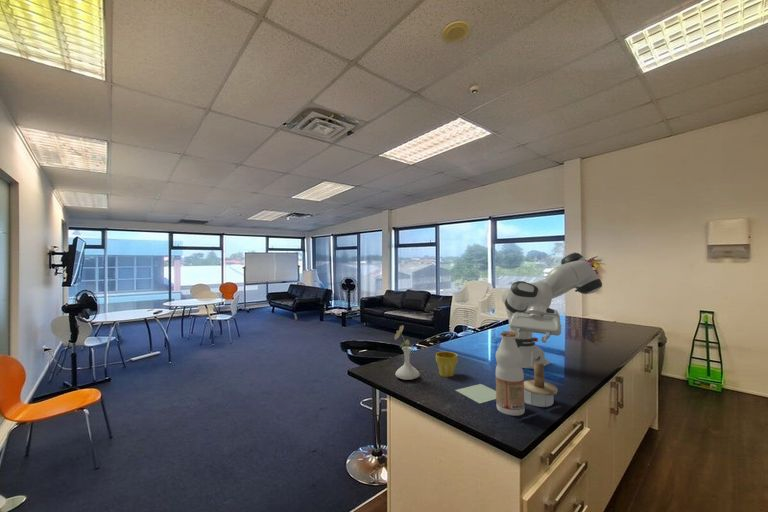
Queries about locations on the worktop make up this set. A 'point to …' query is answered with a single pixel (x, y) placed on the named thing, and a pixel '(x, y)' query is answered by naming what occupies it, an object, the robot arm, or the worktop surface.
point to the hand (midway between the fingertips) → (531, 340)
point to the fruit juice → (509, 376)
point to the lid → (539, 382)
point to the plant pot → (446, 363)
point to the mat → (478, 393)
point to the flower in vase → (406, 360)
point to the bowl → (538, 399)
